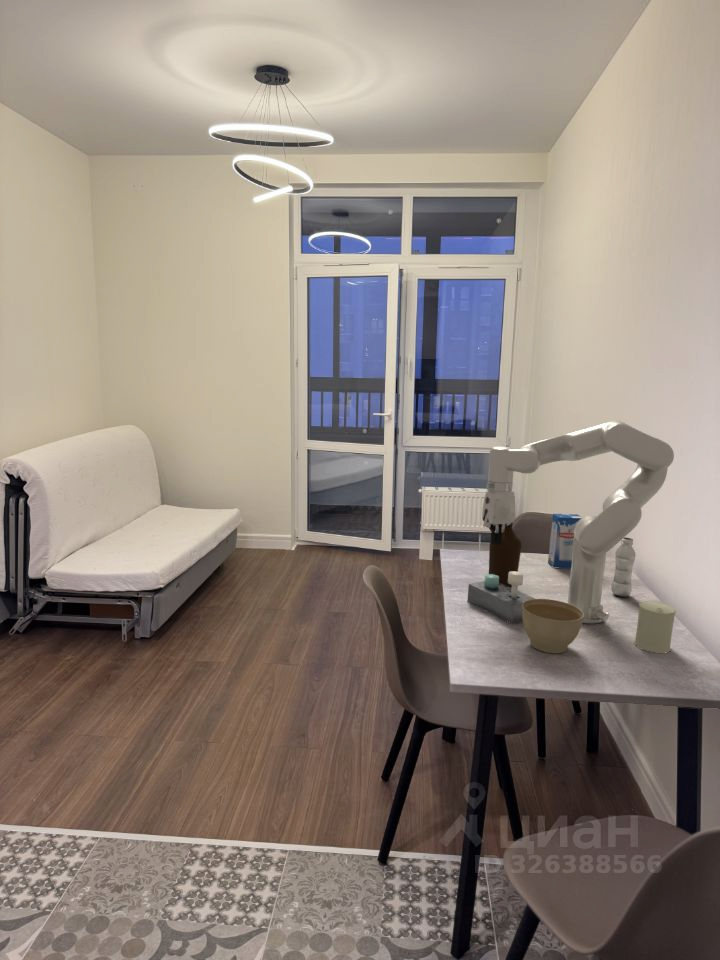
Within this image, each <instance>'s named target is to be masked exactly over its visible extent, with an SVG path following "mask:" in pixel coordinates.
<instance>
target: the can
mask: <svg viewBox="0 0 720 960" xmlns="http://www.w3.org/2000/svg"><path fill="white" fill-rule="evenodd" d="M676 611H677V610H676V609H675V608H674V607H672V606H671V605H669V604H667V603H666V604H665V603H662V602H658V601H652V600H651V601H642V602H640V603H639V608H638V618H637V624H636V625H637V626H636V631H635V632H636V633H635V639H634V645H635V646H636V645H637V646H638V647H639V648H638V647H637V646H636V647H637V648H638V649H640V648H642V649H644V650H643V651H645V650H647V651H646V652H648V651H651V652H650V653H652V652H657V653H656V654H659V653H663V654H666V653H665V652H668V653H669V651H670V652H671V645H672V644H671V643H672V635H673V628H674V622H675V615H676ZM642 649H641V650H642Z"/></svg>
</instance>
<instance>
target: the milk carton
mask: <svg viewBox="0 0 720 960" xmlns="http://www.w3.org/2000/svg"><path fill="white" fill-rule="evenodd" d="M551 517H552V519H551V529H550V538H549V547H548V559H547V564H548V563H549V564H548V565H550V567H552V566H553V567H559V568H558V569H571V565H572V557H573V544H574V530H575V526H576V524H577V522H578V521H579V520H580V519H581V518H583V517H584V516H581V515H579V514H574V513H573V514H572V513H552V516H551ZM553 567H552V568H553Z"/></svg>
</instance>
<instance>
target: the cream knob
mask: <svg viewBox="0 0 720 960" xmlns="http://www.w3.org/2000/svg"><path fill="white" fill-rule="evenodd" d="M508 583H509V584H511V585H512V590H511V598H512V599H517V591H518V590H519V589H518V588H519V586H522V585H523V584H524V573H523V572H521V571H518V572H516V571H511V572H509V574H508Z"/></svg>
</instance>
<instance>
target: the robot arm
mask: <svg viewBox="0 0 720 960" xmlns="http://www.w3.org/2000/svg"><path fill="white" fill-rule="evenodd" d="M610 452H613V453H614V454H617V455H618V456H619V457H620V456H621V457H622V458H625V459H626V460H629V461H630V462H632V463H635V464H637V465H636V468H635V470H634V472H633V473H632V474H631V475H630V476H629V477H628V478H627V479H626V480H625V481H624V482H623V483H622V484H621V485H620V486H619V487H617V488H616V489H615V490H614V491H613V492H612V493H611V494H609V495H608V496H607V497H606V498H605V499H604V501H603V503H602V511H601V512H600V513H599V514H598V515H585V516H582V517H583V518H581V519H580V520H579V521H578V522H577V524H576V526H575V530H574V544H573V557H572V565H571V568H570V576H569V583H568V584H569V586H568V596H567V603H568V604H571V605H573V606H575V607H577V608H579V609H580V610H582V612H583V613H584V618H583V620H582V624H599V623H602V622H607V621H608V619H609V618H610V613H609V612H606V611H604V605H602V604H601V600H602V593H603V583H604V575H605V567H606V559H607V558H606V557H607V552H609V551H610V550H612V548H614V547H615V546H616V545H617V544H618V543H621V540H622V539H623V538H624V537H626V536H628V535H629V534H631V532H632V531H633V530H634V529H635V528H636V527H637V526H638V524H639V523H640V521H641V520H642V516H643V515H642V512H643V511H642V508H643V507H644V506H645V505H646V504H647V503H648V502H649V501H650V500H651V499H652V498H653V497H654V496H655V495H656V494H657V493H658V492H659V491H660V490H661V488H662V487H663V485H664V483H665V481H666V478H667V476H668V474H667V473H668V468H669V467H670V466H671V465H672V464H673V462H674V459H675V452H674V450H673V448H672V447H671V445H670V444H669V443H667V442H665V441H664V440H662V439H659V438H656V437H653V436H651V435H650V434H647V433H645V432H642V431H641V430H638V429H636V428H634V427H632V426H631V425H630V424H627V423H625V422H624V421H620V420H619V421H618V420H613V421H612V420H611V421H609V422H605V423H601V424H598V425H594V426H590V427H587V428H584V429H579V430H576V431H573V432H569V433H564V434H561V435H559V436H555V437H550V438H547V439H544V440H543V439H542V440H539V441H537V442H532V443H529V444H525V445H523V446H521V447H519V448H518V449H514V448H513V447H509V446H502V445H501V446H498V445H497V446H493V447H491V448H490V450H489V458H488V459H489V460H488V474H487V483H486V485H485V488H486V491H485V494H484V499H483V504H482V515H481V517H482V521H483V524H482V526H483V527H484V528H487V529H489V532H490V533H491V534H490V541H491V543H492V544H494V545H501V544H502V532H504V529H505V527H506V526H507V525H510V524H511V522H513V523H514V522H515V518H516V498H515V497H516V496H515V492H514V490H513V483H514V482H513V481H514V472H515V473H516V472H517V473H521V474H526V475H527V474H532V473H535V472H536V471H537V470H538V469H539V468H540V466H543V465H546V464H550V463H555V462H556V463H557V462H561V461H567V462H568V461H570V462H576V461H581V460H584V459H588V458H591V457H595V456H599V455H603V454H606V453H610Z"/></svg>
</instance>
